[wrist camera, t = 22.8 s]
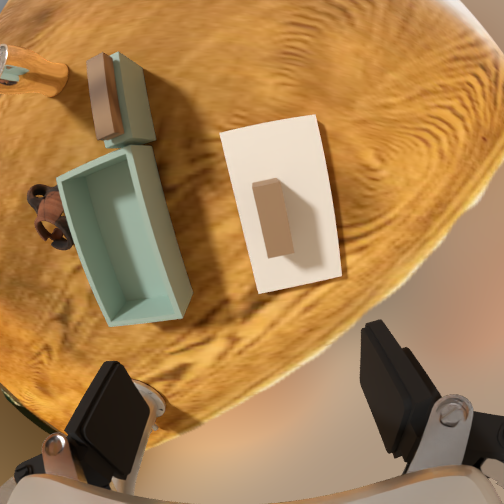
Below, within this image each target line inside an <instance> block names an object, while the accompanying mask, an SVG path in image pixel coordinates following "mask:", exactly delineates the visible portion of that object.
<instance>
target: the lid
mask: <svg viewBox="0 0 504 504" xmlns="http://www.w3.org/2000/svg"><path fill="white" fill-rule="evenodd" d="M220 137H221V141H222V146H223V150H224V154H225V158H226V162H227V166H228V170H229V175H230V179H231V183H232V187H233V191H234V195H235V199H236V203H237V208H238V212H239V216H240V220H241V224H242V228H243V232H244V236H245V240H246V245H247V249H248V253H249V257H250V261H251V265H252V269H253V273H254V277H255V281H256V285H257V289H258V293H259V294H261V293H266V292H271V291H276V290H280V289H285V288H290V287H295V286H299V285H304V284H309V283H313V282H318V281H322V280H327V279H331V278H335V277H340V276H342V271H341V261H340V252H339V244H338V236H337V228H336V221H335V214H334V208H333V201H332V195H331V189H330V183H329V177H328V172H327V167H326V161H325V156H324V151H323V146H322V142H321V137H320V132H319V128H318V123H317V119H316V115H308V116H301V117H295V118H289V119H283V120H278V121H272V122H267V123H262V124H257V125H252V126H248V127H243V128H239V129H234V130H230V131H226V132H222V133H220Z"/></svg>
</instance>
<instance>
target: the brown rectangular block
mask: <svg viewBox="0 0 504 504" xmlns="http://www.w3.org/2000/svg"><path fill="white" fill-rule="evenodd" d="M86 63H87V74H88V84H89V92H90V100H91V107H92V114H93V120H94V126H95V131H96V137H97V140H110V139H113V138H115V137H117V136H120V135H122V134H124V129H123V123H122V118H121V113H120V107H119V101H118V95H117V88H116V82H115V74H114V67H113V58H112V57H110V56H108V55H107V54H105V53H103V52H102V53H100V54H98V55H96V56H95V57H93V58H91V59H89V60H87V61H86Z"/></svg>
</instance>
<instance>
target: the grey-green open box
mask: <svg viewBox="0 0 504 504" xmlns="http://www.w3.org/2000/svg"><path fill="white" fill-rule="evenodd" d="M110 57H112V58H113V67H114V74H115V82H116V88H117V95H118V101H119V107H120V113H121V118H122V123H123V129H124V134H122V135H120V136H117V137H115V138H113V139H110V140H104V142H105V147H106V148H121V149H119V150H116V151H114V152H111V153H109V154H106V155H104V156H102V157H99V158H97V159H95V160H92V161H90V162H88V163H86V164H84V165H81V166H79V167H77V168H75V169H73V170H71V171H69V172H67V173H65V174H63V175H61V176H59V177H57V178H56V180H57V185H58V189H59V193H60V197H61V201H62V204H63V208H64V212H65V215H66V219H67V222H68V225H69V228H70V232H71V235H72V238H73V241H74V244H75V247H76V250H77V252H78V255H79V258H80V261H81V263H82V266H83V269H84V271H85V274H86V276H87V279H88V281H89V284H90V286H91V288H92V291H93V293H94V295H95V298H96V300H97V302H98V304H99V307H100V309H101V311H102V313H103V315H104V317H105V319H106V321H107V323H108V325H109V327H113V326H123V325H133V324H142V323H150V322H158V321H166V320H174V319H181V318H183V317H184V314H185V312H186V309H187V307H188V305H189V302H190V300H191V297H192V295H193V290H192V287H191V284H190V281H189V278H188V275H187V272H186V269H185V266H184V263H183V259H182V256H181V253H180V250H179V246H178V243H177V240H176V236H175V233H174V229H173V226H172V222H171V219H170V215H169V212H168V208H167V204H166V201H165V197H164V193H163V189H162V185H161V181H160V177H159V173H158V169H157V165H156V161H155V157H154V152H153V148H152V146H144V144H146V143H149V142H152V141H155V140H156V136H155V131H154V126H153V121H152V117H151V112H150V107H149V101H148V96H147V91H146V85H145V79H144V74H143V68H142V67H141V66H139V65H138V64H136V63H135V62H133V61H132V60H130V59H129V58H127V57H126V56H124V55H123V54H121V53H120V52H116V53H114V54H112V55H110Z"/></svg>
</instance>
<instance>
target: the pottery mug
mask: <svg viewBox="0 0 504 504" xmlns="http://www.w3.org/2000/svg"><path fill="white" fill-rule="evenodd" d="M36 195H43V196H44V197H41V198H38V197H36ZM27 201H28V203H29V204H30V205H31V207H33V208H34V209H35V211H36V213H37V216H38V217H37V218H36V220H35V228H36V230H37V232H38V234H39V235H40V236H41V238H42V239H43V240H44V241H46V240H47V239H48V238H50V239H52V240H53V242H52V244H51V245H52V246H53V247H54V248H56V249H59V250H68V249H70V248H71V247H72V245H73V244H74V241H73V238H72V235H71V232H70V228H69V225H68V222H67V219H66V216H61V214H62V213H63V211H64V208H63V204H62V201H61V197H60V193H59V189H58V185H56V186H55V187H49V186H46V185H42V184H37V185H34V186H33V187H31V188H30V190H29V191H28V193H27ZM41 221H47V222H50V223H52V224H54V225H55V226H57V227H58V228H55V229H54V231H53V233H52V234H51V233H49V232H48V231H47V230H46V229H45V227H44V226H43V224H42V222H41ZM63 233H64V235H65V236H66V238H67V240H66V239H65V238H63Z"/></svg>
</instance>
